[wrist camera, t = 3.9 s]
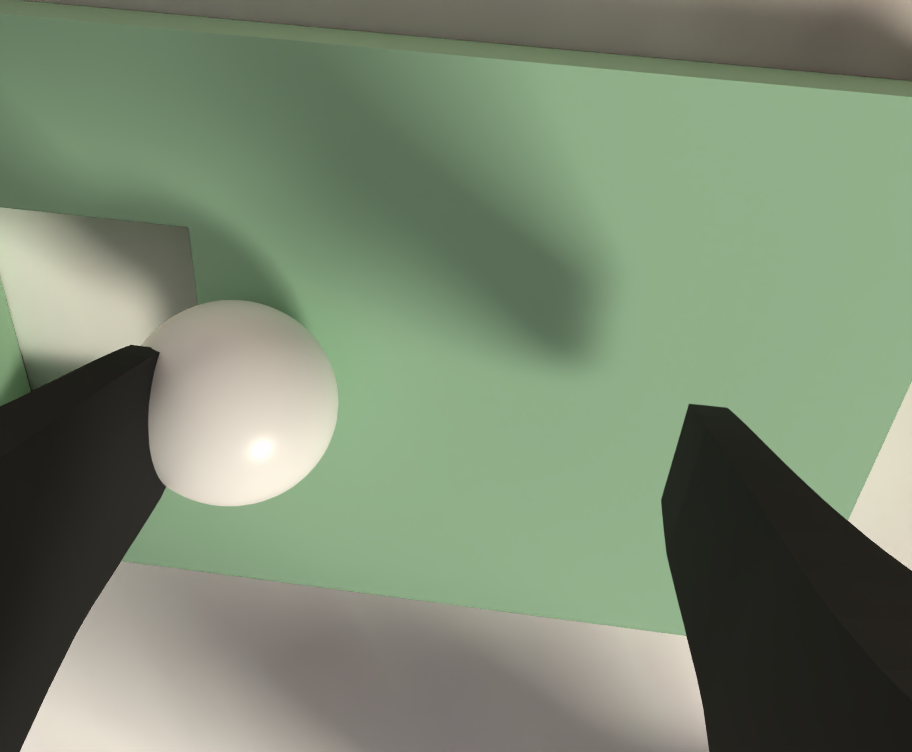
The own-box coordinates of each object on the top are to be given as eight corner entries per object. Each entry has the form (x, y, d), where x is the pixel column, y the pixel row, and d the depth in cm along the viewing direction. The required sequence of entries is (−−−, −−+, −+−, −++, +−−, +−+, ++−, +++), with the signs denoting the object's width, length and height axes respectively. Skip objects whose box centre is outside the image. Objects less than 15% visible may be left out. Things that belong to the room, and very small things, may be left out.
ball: (194, 402, 10) (77, 284, 12) (189, 584, 12) (89, 458, 13) (395, 341, 12) (272, 252, 14) (363, 499, 14) (259, 403, 16)
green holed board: (969, 86, 12) (1103, 130, 9) (766, 584, 19) (808, 706, 16) (-243, -24, 14) (-465, -16, 11) (-58, 479, 20) (-165, 574, 17)
